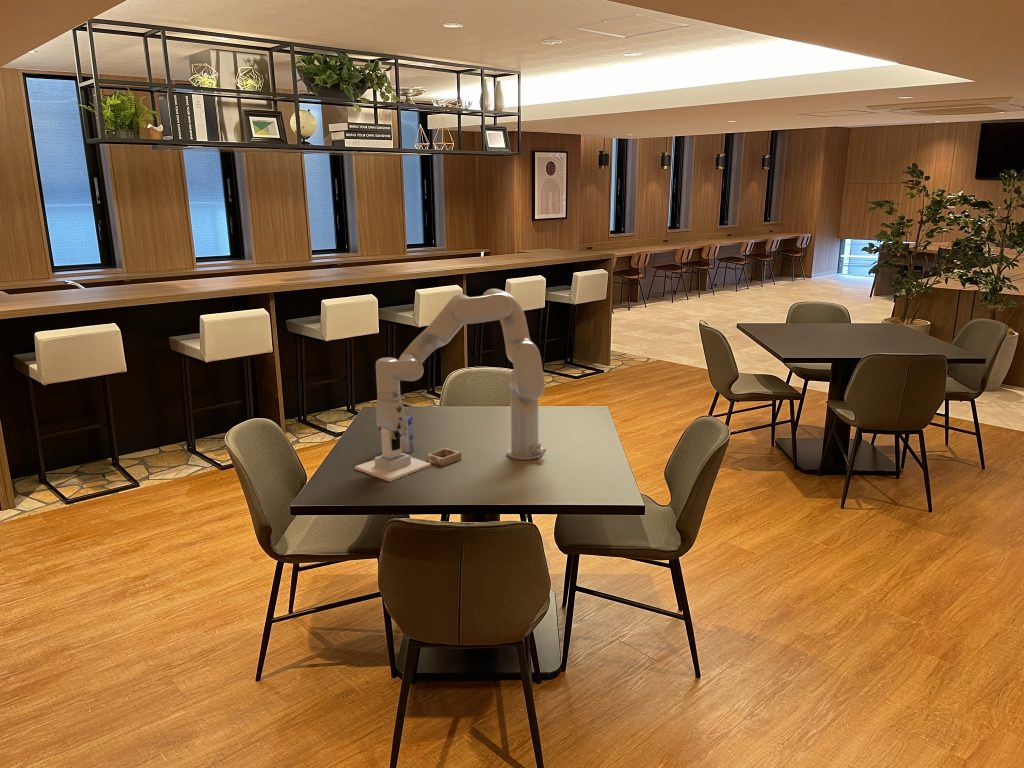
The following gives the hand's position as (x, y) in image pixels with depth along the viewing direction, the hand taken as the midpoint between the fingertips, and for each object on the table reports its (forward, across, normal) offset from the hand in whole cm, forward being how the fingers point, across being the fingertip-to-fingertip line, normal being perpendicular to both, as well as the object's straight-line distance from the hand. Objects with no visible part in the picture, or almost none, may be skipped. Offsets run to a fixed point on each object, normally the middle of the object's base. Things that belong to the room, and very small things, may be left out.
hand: (391, 447), depth 260 cm
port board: (+7, 0, 0) cm, 7 cm away
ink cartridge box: (+7, +12, -13) cm, 19 cm away
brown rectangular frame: (+7, -8, -16) cm, 19 cm away
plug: (+3, 0, 0) cm, 3 cm away
